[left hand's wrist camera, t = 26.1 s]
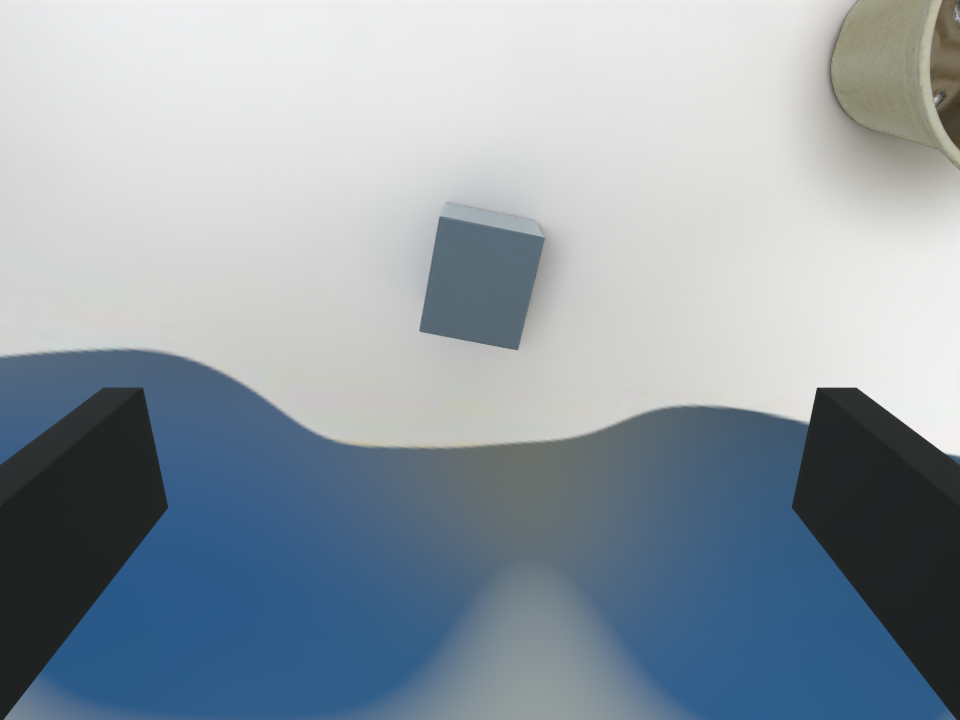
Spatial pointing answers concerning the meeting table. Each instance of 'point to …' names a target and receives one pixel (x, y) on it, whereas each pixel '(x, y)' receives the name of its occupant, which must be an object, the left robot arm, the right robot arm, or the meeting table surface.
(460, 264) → the block
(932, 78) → the flower pot
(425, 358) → the meeting table surface
